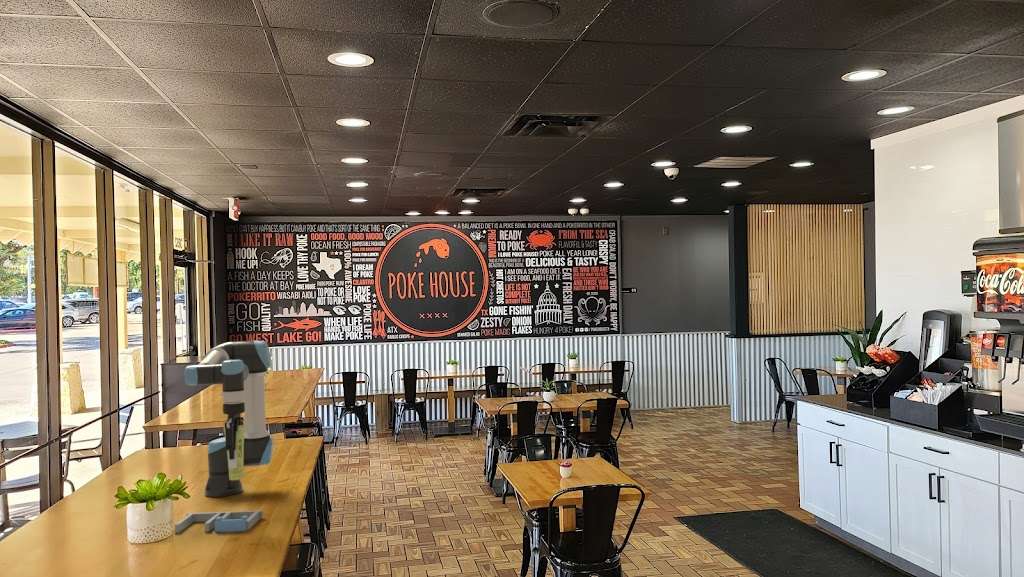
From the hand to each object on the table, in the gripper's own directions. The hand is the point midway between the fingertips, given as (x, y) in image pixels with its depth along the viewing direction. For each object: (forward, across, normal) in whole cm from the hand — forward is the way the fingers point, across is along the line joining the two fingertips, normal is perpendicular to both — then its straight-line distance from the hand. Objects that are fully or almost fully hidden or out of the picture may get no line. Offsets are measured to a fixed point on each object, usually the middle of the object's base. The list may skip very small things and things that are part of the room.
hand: (235, 466), depth 272 cm
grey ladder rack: (+22, -1, -7) cm, 23 cm away
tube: (+5, 0, 0) cm, 5 cm away
